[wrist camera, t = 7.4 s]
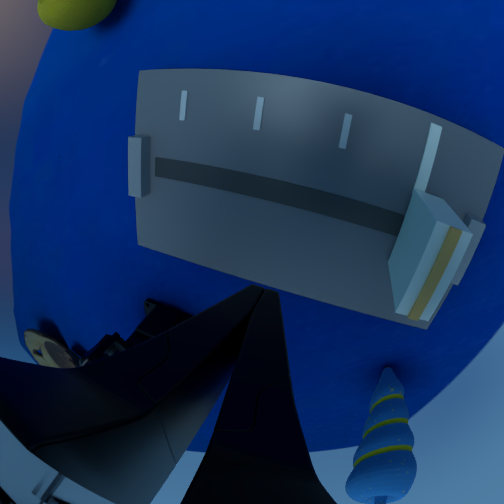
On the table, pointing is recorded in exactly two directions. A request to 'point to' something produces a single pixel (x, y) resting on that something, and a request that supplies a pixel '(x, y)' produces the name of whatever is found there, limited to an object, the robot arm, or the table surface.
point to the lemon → (74, 13)
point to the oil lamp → (49, 350)
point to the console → (296, 180)
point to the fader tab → (426, 255)
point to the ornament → (384, 447)
